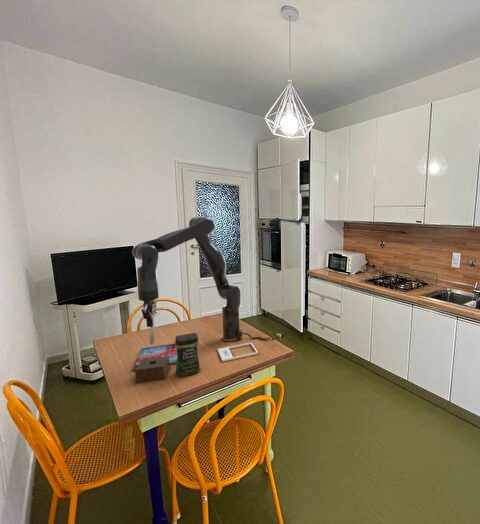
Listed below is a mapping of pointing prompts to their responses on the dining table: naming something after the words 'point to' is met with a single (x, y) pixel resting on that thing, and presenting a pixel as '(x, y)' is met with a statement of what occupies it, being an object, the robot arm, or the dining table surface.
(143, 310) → the robot arm
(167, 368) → the holder
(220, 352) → the photo frame
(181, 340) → the coffee jar
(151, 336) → the stylus
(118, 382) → the dining table surface
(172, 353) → the tablet
